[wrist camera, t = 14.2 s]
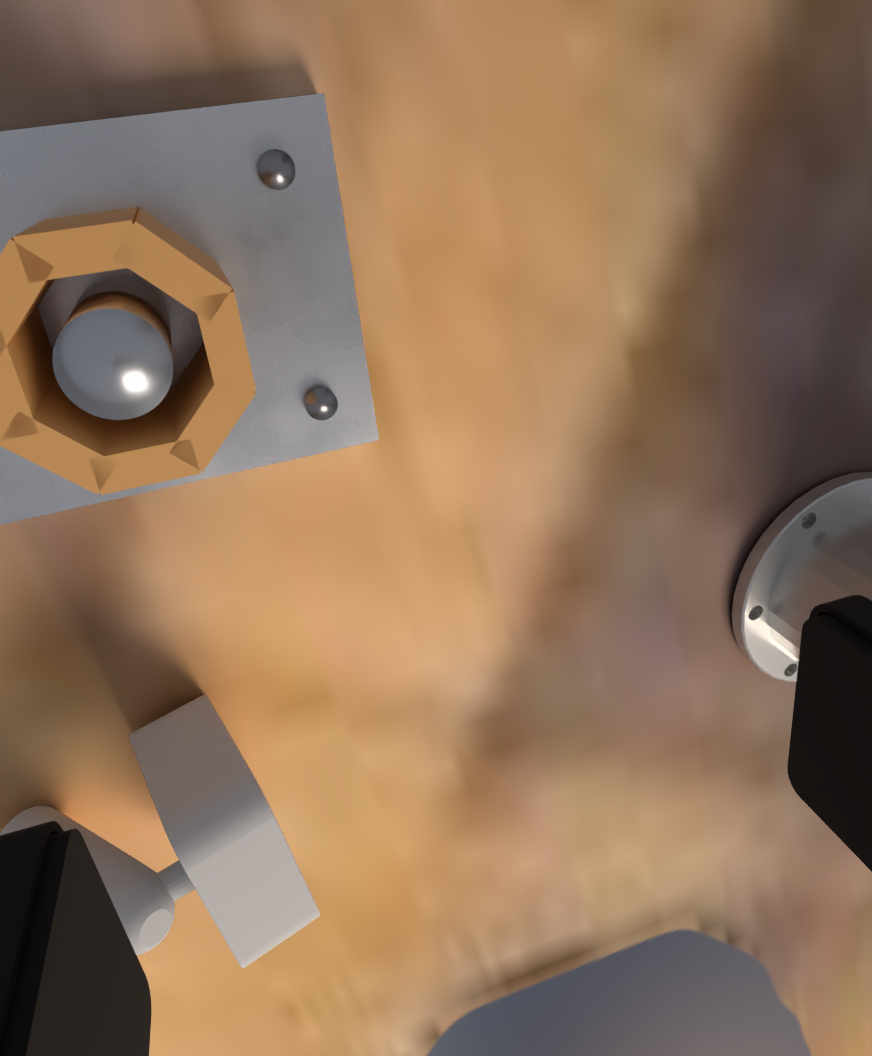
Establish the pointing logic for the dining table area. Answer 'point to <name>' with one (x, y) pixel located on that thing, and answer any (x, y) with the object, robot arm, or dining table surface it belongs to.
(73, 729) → the dining table surface
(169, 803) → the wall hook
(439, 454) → the dining table surface
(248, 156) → the keeper
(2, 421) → the tan hollow octagonal block
